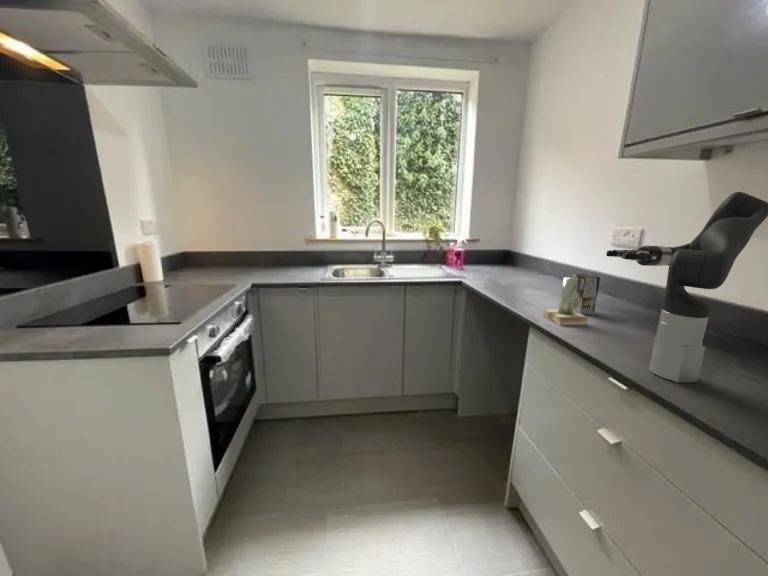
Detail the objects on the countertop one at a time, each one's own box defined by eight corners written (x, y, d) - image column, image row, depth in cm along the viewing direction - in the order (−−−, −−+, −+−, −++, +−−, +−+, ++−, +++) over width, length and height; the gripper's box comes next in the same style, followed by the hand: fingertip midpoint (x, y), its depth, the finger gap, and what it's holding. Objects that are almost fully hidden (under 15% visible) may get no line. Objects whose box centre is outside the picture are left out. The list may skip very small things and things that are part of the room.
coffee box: (594, 314, 146) (601, 277, 143) (579, 314, 146) (585, 276, 143) (581, 308, 155) (587, 273, 152) (567, 308, 155) (573, 272, 151)
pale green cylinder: (575, 315, 135) (581, 279, 131) (563, 315, 134) (569, 279, 131) (567, 311, 140) (572, 276, 136) (555, 311, 139) (560, 276, 136)
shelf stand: (586, 324, 133) (587, 317, 132) (559, 325, 131) (561, 317, 131) (567, 315, 144) (568, 308, 143) (543, 316, 142) (544, 309, 141)
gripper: (639, 244, 138) (603, 242, 135) (674, 247, 124) (634, 246, 121) (636, 262, 139) (599, 262, 137) (669, 268, 125) (630, 267, 123)
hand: (616, 254), depth 129 cm, fingers open, 8 cm apart
